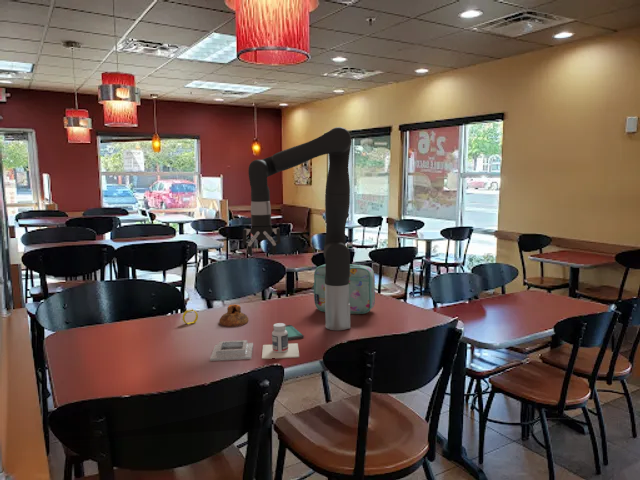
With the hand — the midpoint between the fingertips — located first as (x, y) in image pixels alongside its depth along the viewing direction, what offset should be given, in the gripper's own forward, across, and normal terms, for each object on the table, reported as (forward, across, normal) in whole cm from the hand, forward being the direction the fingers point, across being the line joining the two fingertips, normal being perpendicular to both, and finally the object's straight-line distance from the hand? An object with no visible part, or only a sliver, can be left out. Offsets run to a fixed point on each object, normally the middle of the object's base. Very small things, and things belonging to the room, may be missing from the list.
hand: (262, 255), depth 185 cm
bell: (+29, +13, -7) cm, 32 cm away
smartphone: (+29, -9, +10) cm, 32 cm away
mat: (+28, -6, +28) cm, 40 cm away
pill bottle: (+28, -6, +28) cm, 40 cm away
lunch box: (+28, -33, -16) cm, 46 cm away
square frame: (+28, +10, +27) cm, 40 cm away
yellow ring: (+28, +30, -8) cm, 42 cm away
